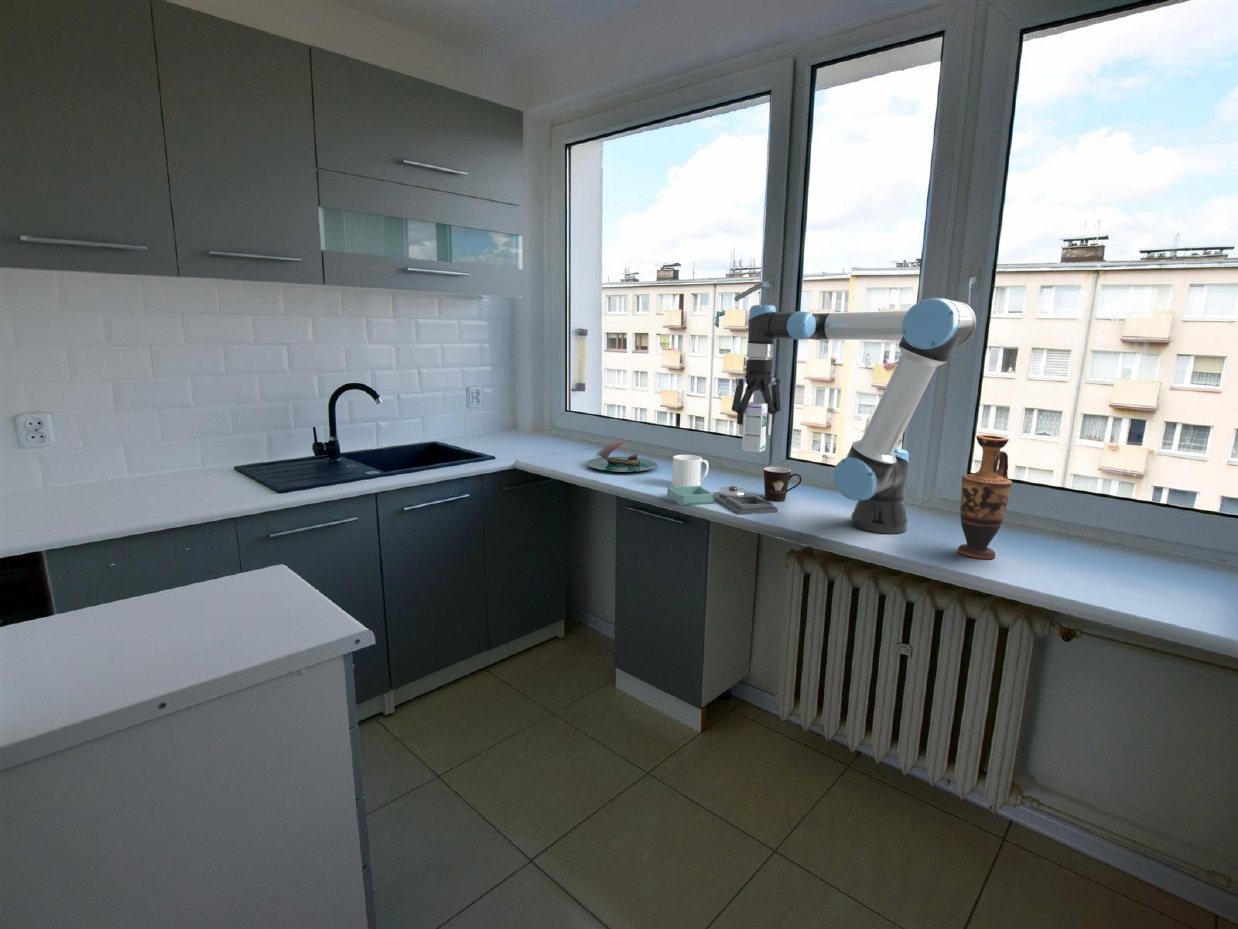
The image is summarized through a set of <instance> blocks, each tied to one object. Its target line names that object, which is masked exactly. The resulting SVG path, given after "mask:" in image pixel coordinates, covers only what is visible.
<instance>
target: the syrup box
mask: <svg viewBox="0 0 1238 929" xmlns="http://www.w3.org/2000/svg"><path fill="white" fill-rule="evenodd" d="M768 413H769V412H768V404H767V403H765V402H761V401H749V403H748V405H747V407H746V410H745V412H744V414H746V430H745V436H742V442H741V443H742V444H741V445H742V446H741V450H742V451H744V452H749V453H761V452H763V451H765V450H766V446H767V435H766V433H767V416H768Z"/></svg>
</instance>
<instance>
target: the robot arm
mask: <svg viewBox="0 0 1238 929" xmlns="http://www.w3.org/2000/svg"><path fill="white" fill-rule="evenodd" d="M748 315H749V316H748V320H747V321H748V322H747V323H748V326H747V327H748V329H747V330H748V331H747V346H746V357H747V358H748V359H746V362H745V363H746V364H745V373H746V374H745V376H744V377H742V378H740V377H737V378H735V391H734V395H733V400H732V405H731V411H732V412H734V413H736V417H737V418H736V424H737V425H738V435H739V436H742V437H743V436H745V430H746V414H744V412H745V410H746V407H747V405H748V403H750V402H751V401H750V400H751V399H752V396H753V395H754V393H755V392H756V391H760V392H761V395H762V397H763V400H764V403H767V404H768V416H767V433H766V436H771V435H772V425H773V424H774V422H775V414H777V413H778V412H781V409H782V408H781V397H780V396H781V394H780V384H781V379H780V378H775V377H772V370H773V361H772V358H773V357H774V342H775V340H776V339H781V340H785V339H786V340H797V341H798V340H800V341H801V340H813V341H814V340H815V341H823V340H844V341H845V340H850V341H851V340H857V341H858V340H861V341H862V340H864V341H867V340H870V341H871V340H872V341H873V340H875V341H876V340H877V341H880V340H881V341H886V340H887V341H899V343H898V348H899V351H900V353H901V354H900V357H899V359H898V361H897V363H896V366H895V368H894V370H893V372H892V373H891V376H890V378H889V380H888V382H887V384H886V386H885V389H884V390H883V393H882V395H881V397H880V400H879V402H878V404H877V406H876V408H875V410H874V411H873V414H872V416H871V418H870V421H869V422H868V425H867V427H866V429H865V431H864V433H863V436H862V438H861V439H859V440H856V441H853V443H852V444H851V447H850V449H849V451H848V453H847V455H846V457H844V458H843V459H841V460H840V461H839V462H838V463H837V464H836V465H835V466H834V469H833V474H832V479H833V480H832V481H833V484H834V485H835V488H836V490H837V491H838V492H839V494H841V495H842V496H843V497H844V498H846V499H848V500H851V501H857V502H856V504H855V507H854V509H853V511H852V513H851V514H850V524H851V525H852V526H853V527H855V528H857V529H860V530H862V531H863V530H864V531H868V532H873V533H877V534H878V533H879V534H887V535H888V534H902V533H905V532H907V530H908V519H907V513H906V509H905V508H906V507H905V504H904V501H905V492H906V491H905V490H906V484H907V477H908V469H909V468H908V467H909V464H910V462H909V457H910V455H909V452H908V450H906V449H902V448H897V447H898V445H899V443H900V441H901V439H902V437H903V435H904V434H905V431H906V430H907V429H906V428H908V427H907V426H908V425H909V423H910V421H911V419H912V417H913V415H914V413H915V411H916V409H917V407H918V404H919V402H920V400H921V399H922V397H923V395H924V392H925V391H926V389H927V387H928V385H929V383H930V380H931V379H932V377H933V375H934V372H935V371H936V369H937V367H939V366H941V365H944V364H946V363H947V362H948V360H949V358H950V355H951V354H952V351H953V349H954V348H956V347H959V346H961V345H963V344H966V343H967V342H968V341H969V340H970V339H971V338H972V337H973V335H974V334H975V331H976V327H977V316H976V314H975V311H974V310H973V308H972V307H970V306H969V305H968V304H967V303H965V302H963V301H960V300H953V299H948V298H943V297H930V298H926V299H922V300H920V301H919V302H916V303H915V304H914V305H912V306H911V307H910V308H909V309H908V310H903V311H902V310H901V311H899V310H896V311H894V310H893V311H865V312H864V311H862V312H861V311H860V312H859V311H858V312H828V313H827V312H823V313H822V312H820V313H814V312H813V313H812V312H810V311H809V312H808V311H804V310H803V311H800V310H799V311H777V309H776V306H775V305H774V304H754V305H751V307H750V308H749V314H748ZM745 384H746V387H745V389H744V386H745ZM769 384H770V385H771V387H769ZM770 388H771V389H770ZM770 390H771V393H770ZM744 391H745V392H744ZM743 392H744V393H743Z"/></svg>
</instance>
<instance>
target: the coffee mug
mask: <svg viewBox="0 0 1238 929" xmlns="http://www.w3.org/2000/svg"><path fill="white" fill-rule="evenodd" d="M791 472H792V470H791V469H789V468H786V467H781V466H780V467H779V466H767V467H765V466H764V468H763V480H764V481H763V482H764V484H763V486H764V500H766V501H768V502H773V503H781V502H785V501H786V497H787V494H788V492H790V491H792V490H794V489H795V488H797V487H798V486H799V485H800V484H801V483H802V476H801V475H800V474H797V473H793V474H791ZM794 476H797V477H798V478H799V482H797V484H795V485H793V486H792V487H789V481H790V480H791V479H792V478H793V477H794ZM788 487H789V488H788Z"/></svg>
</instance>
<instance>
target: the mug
mask: <svg viewBox="0 0 1238 929" xmlns="http://www.w3.org/2000/svg"><path fill="white" fill-rule="evenodd" d="M702 463H704V464H705V470H704V474H703V475H702V467H703V466H702V465H703V464H702ZM709 465H710V464H709V461H708V460H706V459H703V458H702V457H701V456H699V455H694V454H693V455H692V454H677V455H673V457H672V472H671V473H672V475H671V486H672V487H684V486H702V485H701V483H702V481H703V480H704V479H705V478H707V475H708V473H709V468H710V466H709Z"/></svg>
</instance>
